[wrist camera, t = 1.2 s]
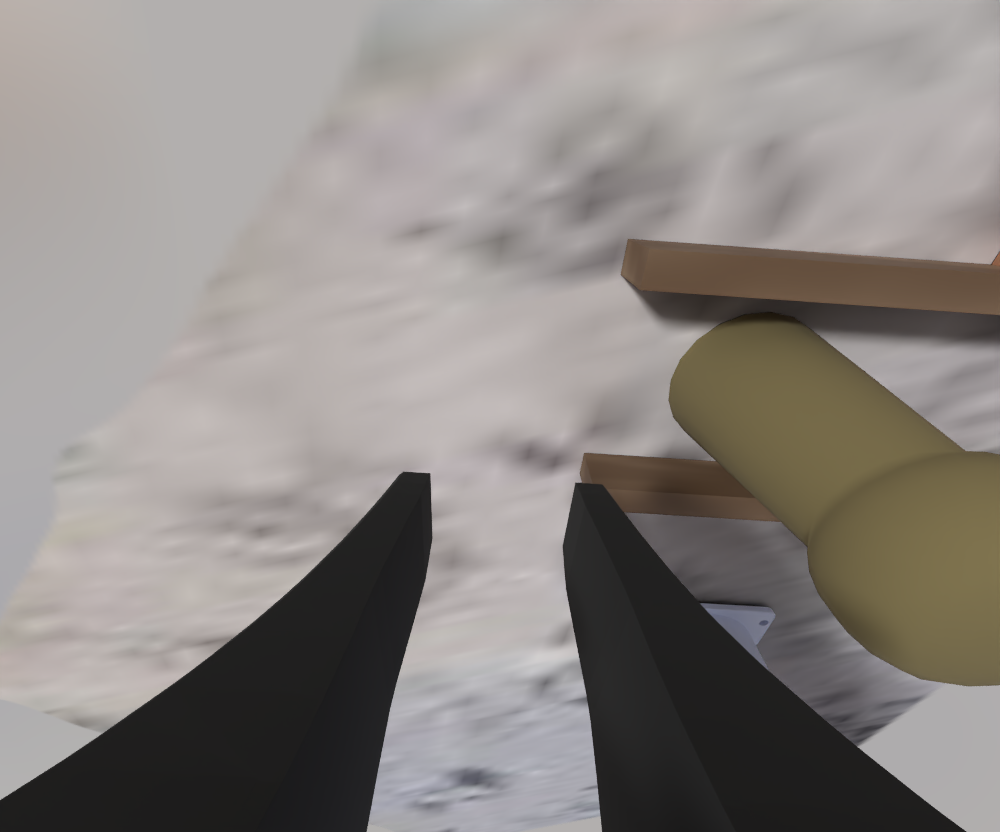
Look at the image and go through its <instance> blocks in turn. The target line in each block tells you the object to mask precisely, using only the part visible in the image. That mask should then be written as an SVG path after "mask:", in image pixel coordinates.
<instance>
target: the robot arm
mask: <svg viewBox="0 0 1000 832" xmlns="http://www.w3.org/2000/svg"><path fill="white" fill-rule="evenodd" d="M431 543H432V512H431V481H430V473H415V472H403V473H401V474H400V475H399V476H398V477H397V478H396V480H395V481H394V482H393V483H392V484H391V486H390V487H389V488H388V489H387V491H386V492H385V493H384V494H383V495H382V497H381V498H380V499H379V500H378V501H377V502H376V504H375V505H374V506H373V507H372V508H371V509H370V510H369V512H368V513H367V514H366V515H365V516H364V517H363V518H362V519H361V520H360V521H359V523H358V524H357V525H356V526H355V527H354V528H353V529H352V530H351V531H350V532H349V533H348V534H347V536H346V537H345V538H344V539H343V540H342V541H341V542H340V543H339V544H338V545H337V546H336V547H335V548H334V549H333V550H332V551H331V552H330V553H329V554H328V555H327V556H326V557H325V558H324V559H323V560H322V561H321V562H320V563H319V564H318V565H317V566H316V567H315V568H314V569H312V570H311V571H310V572H309V573H308V574H307V575H306V576H305V577H304V578H303V579H302V580H301V581H300V582H299V583H298V584H297V585H295V586H294V587H293V588H292V589H291V590H290V591H289V592H288V593H287V594H286V595H284V596H283V597H282V598H281V599H280V600H279V601H278V602H276V603H275V604H274V605H273V606H272V607H271V608H269V609H268V610H267V611H266V612H265V613H263V614H262V615H261V616H260V617H259V618H258V619H256V620H255V621H254V622H253V623H252V624H250V625H249V626H248V627H247V628H245V629H244V630H243V631H242V632H240V633H239V634H238V635H237V636H235V637H234V638H233V639H231V640H230V641H229V642H228V643H226V644H225V645H224V646H223V647H221V648H220V649H219V650H218V651H216V652H215V653H214V654H213V655H211V656H210V657H209V658H207V659H206V660H205V661H203V662H202V663H201V664H199V665H198V666H197V667H196V668H194V669H193V670H192V671H190V672H189V673H188V674H186V675H185V676H183V677H182V678H181V679H179V680H178V681H177V682H175V683H174V684H172V685H171V686H170V687H168V688H167V689H165V690H164V691H163V692H161V693H160V694H158V695H157V696H155V697H154V698H153V699H151V700H150V701H148V702H147V703H145V704H144V705H143V706H141V707H140V708H138V709H137V710H135V711H134V712H133V713H131V714H130V715H128V716H127V717H125V718H124V719H123V720H121V721H120V722H118V723H117V724H116V725H114V726H113V727H111V728H110V729H108V730H107V731H106V732H104V733H103V734H101V735H100V736H99V737H97V738H96V739H94V740H93V741H91V742H90V743H88V744H87V745H85V746H84V747H82V748H81V749H79V750H78V751H76V752H75V753H73V754H72V755H70V756H69V757H67V758H66V759H64V760H63V761H61V762H60V763H58V764H56V765H55V766H53V767H52V768H50V769H48V770H47V771H45V772H44V773H42V774H41V775H39V776H37V777H36V778H34V779H33V780H31V781H30V782H28V783H26V784H25V785H23V786H22V787H20V788H19V789H17V790H16V791H14V792H12V793H11V794H9V795H8V796H6V797H4V798H3V799H1V800H0V832H366V831H367V826H368V821H369V815H370V810H371V805H372V799H373V794H374V789H375V783H376V778H377V773H378V767H379V762H380V757H381V752H382V747H383V742H384V737H385V732H386V727H387V722H388V716H389V711H390V707H391V703H392V699H393V695H394V691H395V687H396V683H397V679H398V676H399V672H400V669H401V665H402V661H403V658H404V654H405V651H406V647H407V644H408V640H409V637H410V633H411V630H412V626H413V623H414V619H415V615H416V612H417V608H418V605H419V601H420V597H421V594H422V590H423V587H424V583H425V579H426V573H427V567H428V561H429V555H430V549H431ZM563 555H564V569H565V581H566V590H567V596H568V601H569V607H570V612H571V617H572V622H573V628H574V633H575V638H576V643H577V648H578V653H579V658H580V664H581V669H582V674H583V679H584V684H585V689H586V694H587V701H588V707H589V713H590V720H591V728H592V737H593V746H594V756H595V765H596V774H597V784H598V794H599V804H600V814H601V825H602V832H966V831H965V830H963V829H962V828H960V827H959V826H958V825H956V824H955V823H954V822H952V821H951V820H950V819H948V818H947V817H946V816H944V815H943V814H941V813H940V812H939V811H938V810H936V809H935V808H934V807H932V806H931V805H930V804H929V803H927V802H926V801H924V800H923V799H922V798H921V797H920V796H918V795H917V794H916V793H914V792H913V791H912V790H911V789H909V788H908V787H907V786H906V785H904V784H903V783H902V782H901V781H899V780H898V779H897V778H896V777H894V776H893V775H892V774H890V773H889V772H888V771H887V770H885V769H884V768H883V767H882V766H880V765H879V764H878V763H877V762H875V761H874V760H873V759H872V758H870V757H869V756H868V755H867V754H865V753H864V752H863V751H862V750H860V749H859V748H858V747H857V746H856V745H854V744H853V743H852V742H851V741H849V740H848V739H847V738H846V737H845V736H843V735H842V734H841V733H840V732H839V731H837V730H836V729H835V728H834V727H833V726H831V725H830V724H829V723H828V722H827V721H825V720H824V719H823V718H822V717H821V716H820V715H818V714H817V713H816V712H815V711H814V710H813V709H812V708H810V707H809V706H808V705H807V704H806V703H805V702H804V701H802V700H801V699H800V698H799V697H798V696H797V695H795V694H794V693H793V692H792V691H791V690H790V689H789V688H787V687H786V686H785V685H784V684H783V683H782V682H781V681H779V680H778V679H777V678H776V677H775V676H774V675H773V674H772V673H771V672H770V671H769V669H768V667H767V665H766V663H765V662H764V660H763V658H762V656H761V654H760V652H759V650H758V648H757V647H756V646H757V644H758V643H759V641H760V640H761V638H762V637H763V635H764V634H765V632H766V631H767V629H768V628H769V626H770V625H771V623H772V622H773V620H774V619H775V616H776V615H775V613H774V612H773V610H772V609H771V608H769V607H758V606H741V605H724V604H707V603H699V602H698V601H697V600H696V599H695V597H694V596H693V595H692V594H691V593H690V592H689V591H688V590H687V589H686V588H685V586H684V585H683V584H682V583H681V582H680V581H679V580H678V579H677V577H676V576H675V575H674V574H673V573H672V572H671V570H670V569H669V568H668V567H667V566H666V565H665V563H664V562H663V561H662V560H661V559H660V557H659V556H658V555H657V554H656V552H655V551H654V550H653V549H652V548H651V546H650V545H649V544H648V543H647V542H646V540H645V539H644V538H643V537H642V535H641V534H640V533H639V531H638V530H637V529H636V528H635V526H634V525H633V524H632V522H631V521H630V520H629V519H628V517H627V516H626V515H625V513H624V512H623V511H622V509H621V508H620V507H619V505H618V504H617V503H616V501H615V500H614V499H613V497H612V496H611V495H610V493H609V492H608V491H607V489H606V488H605V487H604V486H603V484H590V483H575V488H574V493H573V498H572V503H571V508H570V513H569V518H568V523H567V528H566V533H565V538H564V543H563Z"/></svg>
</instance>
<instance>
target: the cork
mask: <svg viewBox="0 0 1000 832" xmlns="http://www.w3.org/2000/svg"><path fill="white" fill-rule="evenodd" d="M669 403H670V407H671V410H672V414H673V417H674V419H675V420H676V421H677V422H678V424H679V425H680V426H681V427H682V429H683V430H684V431H685V432H686V433H687V434H688V435H689V436H690V437H691V438H692V439H693V440H695V441H696V442H697V443H698V444H699V445H700V446H701V447H702V448H703V449H704V450H705V451H706V452H707V453H708V454H709V455H710V456H711V457H713V458H714V459H715V460H716V461H717V462H718V463H719V464H720V465H721V466H722V467H723V468H724V469H725V470H726V471H727V472H728V473H730V474H731V475H732V476H733V477H734V478H735V479H736V480H737V481H738V482H739V483H740V484H741V485H742V486H743V487H744V488H745V489H746V490H748V491H749V492H750V493H751V494H752V495H753V496H754V497H755V498H756V499H757V500H758V501H759V502H760V503H761V504H762V505H763V506H765V507H766V508H767V509H768V510H769V511H770V512H771V513H772V514H773V515H774V516H775V517H776V518H777V519H778V520H779V521H780V522H782V523H783V524H784V525H785V526H786V527H787V528H788V529H789V530H790V531H791V532H792V533H793V534H794V535H795V536H796V537H797V538H798V539H800V540H801V541H802V542H803V543H804V544H805V545H806V546H807V547H808V549H807V555H808V565H809V572H810V575H811V577H812V579H813V582H814V584H815V587H816V589H817V592H818V594H819V595H820V597H821V598H822V600H823V601H824V602H825V604H826V605H827V606H828V608H829V609H830V611H831V612H832V613H833V615H834V616H835V617H836V619H837V620H838V621H839V622H840V624H841V625H842V626H843V627H844V629H845V630H846V631H847V632H848V633H849V634H850V635H851V636H852V637H853V638H854V639H855V640H857V641H858V642H859V643H860V644H861V645H862V646H863V647H864V648H865V649H867V650H868V651H869V652H870V653H871V654H873V655H875V656H876V657H878V658H880V659H882V660H884V661H885V662H887V663H889V664H891V665H893V666H894V667H896V668H898V669H900V670H902V671H904V672H906V673H908V674H911V675H913V676H915V677H917V678H919V679H923V680H929V681H936V682H942V683H949V684H956V685H963V686H991V685H1000V455H998V454H993V453H988V452H972V451H965V450H964V449H962V448H961V447H960V446H959V445H957V444H956V443H955V442H954V441H952V440H951V439H950V438H948V437H947V436H946V435H945V434H943V433H942V432H941V431H940V430H938V429H937V428H936V427H934V426H933V425H932V424H931V423H929V422H928V421H927V420H926V419H924V418H923V417H922V416H920V415H919V414H918V413H917V412H915V411H914V410H913V409H912V408H910V407H909V406H908V405H906V404H905V403H904V402H903V401H901V400H900V399H899V398H898V397H896V396H895V395H894V394H893V393H891V392H890V391H889V390H887V389H886V388H885V387H884V386H882V385H881V384H880V383H879V382H877V381H876V380H875V379H873V378H872V377H871V376H870V375H868V374H867V373H866V372H865V371H863V370H862V369H861V368H859V367H858V366H857V365H856V364H854V363H853V362H852V361H851V360H849V359H848V358H847V357H845V356H844V355H843V354H842V353H840V352H839V351H838V350H837V349H835V348H834V347H833V346H832V345H830V344H829V343H828V342H826V341H825V340H824V339H823V338H821V337H820V336H819V335H818V334H816V333H815V332H814V331H812V330H811V329H810V328H808V327H807V326H806V325H804V324H803V323H801V322H800V321H798V320H797V319H796V318H794V317H791V316H786V315H782V314H778V313H773V312H766V313H756V314H746V315H743V316H740V317H737V318H735V319H732V320H730V321H727V322H725V323H722V324H719V325H718V326H716V327H715V328H714V329H712V330H711V331H709V332H708V333H707V334H705V335H704V336H702V337H701V338H699V339H698V340H697V341H696V342H695V343H694V344H693V345H692V347H691V348H690V349H689V350H688V351H687V352H686V354H685V355H684V356H683V357H682V358H681V359H680V362H679V364H678V366H677V368H676V370H675V372H674V374H673V377H672V379H671V383H670V392H669Z"/></svg>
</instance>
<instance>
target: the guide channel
mask: <svg viewBox="0 0 1000 832" xmlns="http://www.w3.org/2000/svg"><path fill="white" fill-rule="evenodd" d="M621 275H622V276H623V277H624V278H626V279H627V280H628V281H629V282H631V283H632V284H633V285H634V286H635V287H637V288H638V289H639V290H645V291H659V292H674V293H688V294H703V295H717V296H732V297H746V298H761V299H775V300H790V301H804V302H819V303H833V304H848V305H862V306H877V307H891V308H905V309H920V310H934V311H949V312H963V313H978V314H992V315H1000V252H999V254H998V256H997V257H996V259H995V260H994V262H993V263H992V265H989V264H974V263H960V262H946V261H932V260H918V259H904V258H890V257H875V256H861V255H847V254H833V253H819V252H805V251H791V250H776V249H762V248H748V247H734V246H720V245H706V244H692V243H678V242H663V241H649V240H635V239H628V242H627V247H626V251H625V256H624V261H623V266H622V271H621ZM580 476H581V480H582V483H590V484H603V486H604V487H605V488H606V489H607V491H608V492H609V493H610V495H611V496H612V497H613V499H614V500H615V501H616V503H617V504H618V505H619V507H620V508H621V509H622V511H623V512H631V513H647V514H663V515H679V516H695V517H712V518H728V519H744V520H760V521H776V522H780V521H779V520H778V519H777V518H776V517H775V516H774V515H773V514H772V513H771V512H770V511H769V510H768V509H767V508H766V507H765V506H763V505H762V504H761V503H760V502H759V501H758V500H757V499H756V498H755V497H754V496H753V495H752V494H751V493H750V492H749V491H748V490H746V489H745V488H744V487H743V486H742V485H741V484H740V483H739V482H738V481H737V480H736V479H735V478H734V477H733V476H732V475H731V474H730V473H728V472H727V471H726V470H725V469H724V468H723V467H722V466H721V465H720V464H719V463H718V462H717V461H702V460H686V459H671V458H655V457H639V456H623V455H608V454H592V453H584V456H583V461H582V466H581V471H580Z"/></svg>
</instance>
